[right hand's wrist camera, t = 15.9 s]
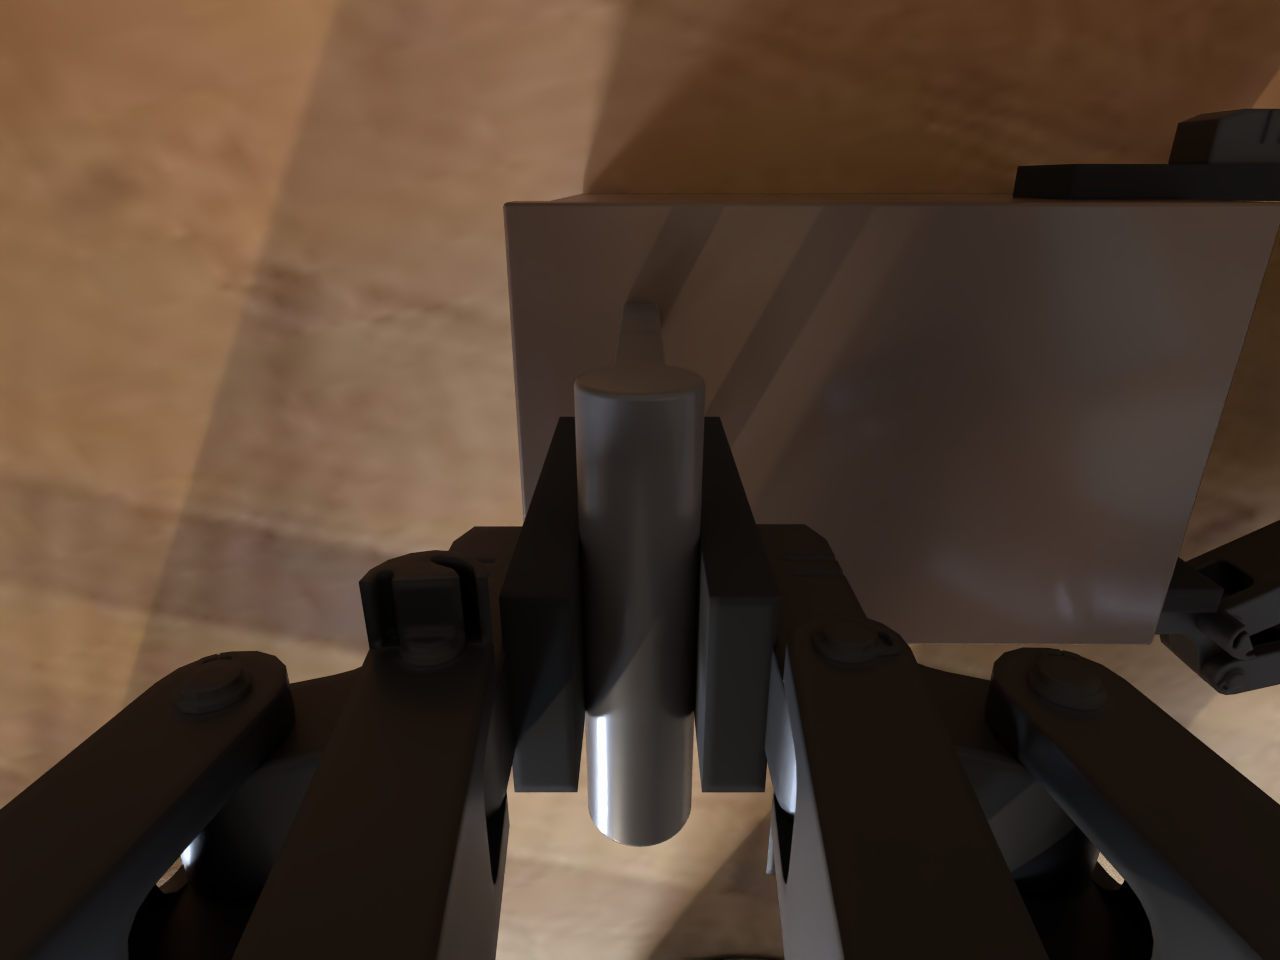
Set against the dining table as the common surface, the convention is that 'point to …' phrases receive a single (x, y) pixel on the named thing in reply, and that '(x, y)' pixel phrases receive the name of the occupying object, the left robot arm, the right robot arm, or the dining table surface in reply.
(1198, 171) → the left robot arm
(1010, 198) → the chest
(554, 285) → the lid
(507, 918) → the dining table surface
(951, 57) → the dining table surface
